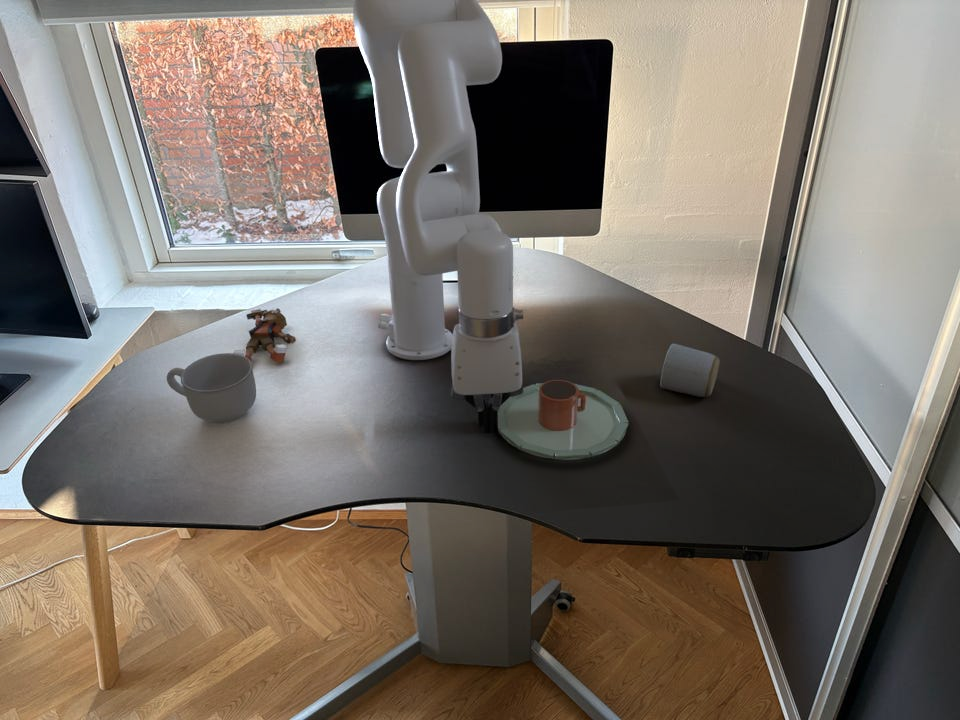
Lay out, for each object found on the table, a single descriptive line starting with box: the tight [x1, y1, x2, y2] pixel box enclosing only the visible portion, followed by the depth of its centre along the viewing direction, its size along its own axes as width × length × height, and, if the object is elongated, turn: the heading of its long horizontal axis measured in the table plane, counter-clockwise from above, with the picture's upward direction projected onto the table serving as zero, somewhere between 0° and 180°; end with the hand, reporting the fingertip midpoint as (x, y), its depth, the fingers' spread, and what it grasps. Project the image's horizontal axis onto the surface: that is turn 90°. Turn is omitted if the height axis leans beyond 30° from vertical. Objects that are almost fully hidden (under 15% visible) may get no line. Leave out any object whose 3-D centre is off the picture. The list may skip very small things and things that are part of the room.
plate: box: [496, 382, 629, 460], centre depth 111 cm, size 20×20×2 cm
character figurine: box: [233, 307, 297, 364], centre depth 136 cm, size 12×5×18 cm
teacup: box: [166, 352, 257, 423], centre depth 115 cm, size 14×11×8 cm
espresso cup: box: [538, 379, 586, 431], centre depth 110 cm, size 7×6×6 cm
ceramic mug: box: [659, 343, 720, 398], centre depth 119 cm, size 11×8×8 cm
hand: (487, 428), depth 110 cm, fingers closed
